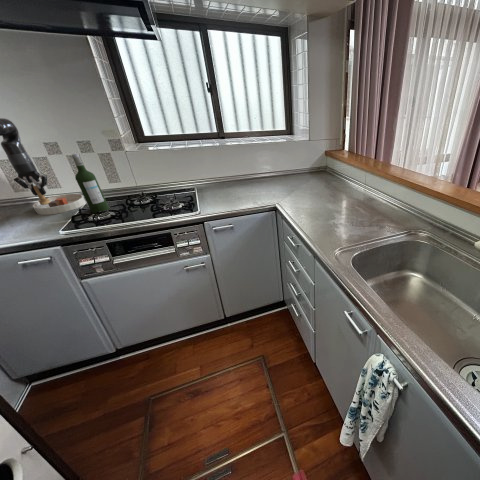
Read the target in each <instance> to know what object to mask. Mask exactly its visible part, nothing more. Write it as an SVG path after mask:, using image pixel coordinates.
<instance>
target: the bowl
mask: <svg viewBox="0 0 480 480" xmlns="http://www.w3.org/2000/svg"><path fill="white" fill-rule="evenodd" d="M47 198H48V199H49V201H50V202H51V201H55V200H56V199H57V198H66V200H67V202H68V204H65V205H61V206H56V207H50V206H49V204H46V205H41V204H40V203H39V201H36V202H35V203H33V204H32V208H33V210H34V211H35V213H36V214H37V215H41V216H47V215H49V216H50V215H57V214H62V213H67V212H71V211H73V210H76V209H80V208H81V207H83V206H84V205H86V204H87V201H86V199H85V197H84V195H83V194H81V193H66V194H59V195H54V196H50V197H47Z"/></svg>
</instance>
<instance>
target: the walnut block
mask: <svg viewBox="0 0 480 480" xmlns="http://www.w3.org/2000/svg"><path fill="white" fill-rule="evenodd" d="M48 204H49V206H50V207H56V206H61V203H60V201H51V202H50V203H48Z"/></svg>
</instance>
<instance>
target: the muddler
mask: <svg viewBox="0 0 480 480" xmlns="http://www.w3.org/2000/svg"><path fill="white" fill-rule="evenodd" d="M32 187H33V188H34V190H35V192H36V194H37V195H38V196H37V197H38V201H39V203H40V204H41V205H46V204H48V203H50V201H49V199H48V198H49V197H46V196H45V195H42V194H41V193H40V191H39V188H38V187H37V186H36V185H35V184H34V186H32ZM38 201H37V202H38Z"/></svg>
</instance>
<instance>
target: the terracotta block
mask: <svg viewBox="0 0 480 480" xmlns="http://www.w3.org/2000/svg"><path fill="white" fill-rule="evenodd" d="M55 201H60V203H61V205H65V204H68V202H67V200H66V198H57V199H56V200H55Z"/></svg>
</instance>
